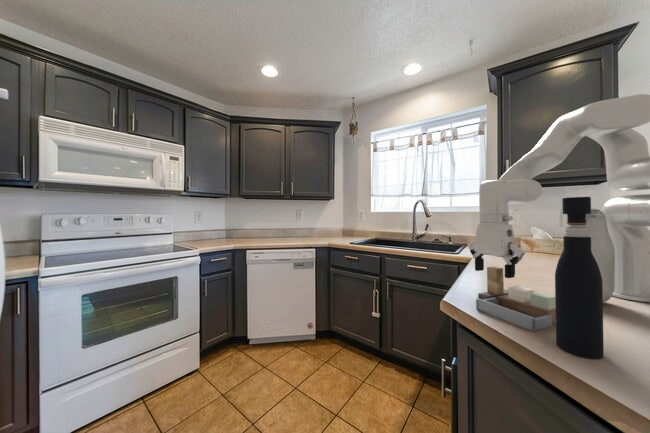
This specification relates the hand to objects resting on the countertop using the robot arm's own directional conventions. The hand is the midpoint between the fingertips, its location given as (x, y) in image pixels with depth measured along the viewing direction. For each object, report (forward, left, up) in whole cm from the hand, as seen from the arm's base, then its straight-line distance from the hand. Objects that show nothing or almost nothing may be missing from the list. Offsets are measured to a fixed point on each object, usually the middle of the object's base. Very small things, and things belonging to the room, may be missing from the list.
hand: (493, 273), depth 76 cm
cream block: (+2, +9, -5) cm, 11 cm away
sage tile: (+2, +15, -5) cm, 16 cm away
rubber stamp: (0, 0, -8) cm, 8 cm away
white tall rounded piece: (-22, +12, -8) cm, 27 cm away
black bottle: (+13, +26, -8) cm, 30 cm away
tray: (+9, +11, -8) cm, 16 cm away
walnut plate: (0, +11, -8) cm, 14 cm away
